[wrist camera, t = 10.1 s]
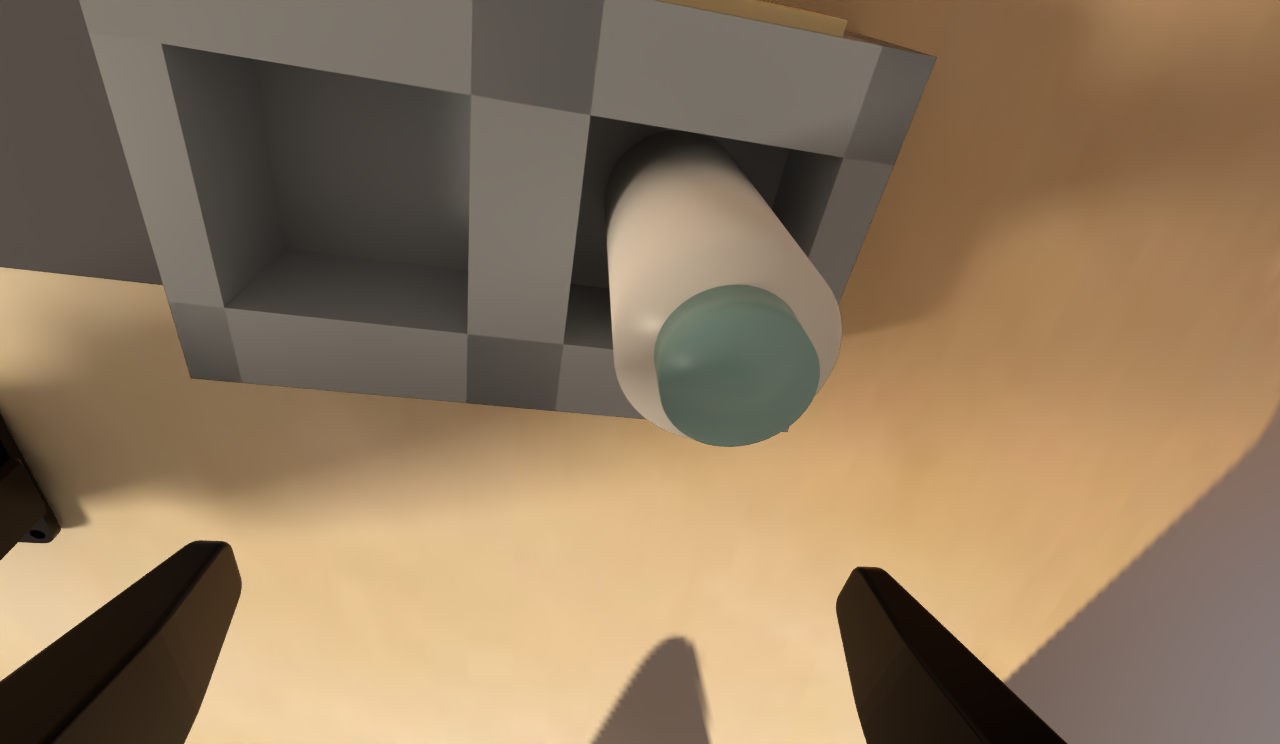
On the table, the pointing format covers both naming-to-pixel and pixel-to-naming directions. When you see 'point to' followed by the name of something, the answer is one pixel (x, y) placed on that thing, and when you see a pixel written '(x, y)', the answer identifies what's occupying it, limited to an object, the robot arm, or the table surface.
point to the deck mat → (63, 153)
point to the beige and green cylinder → (711, 297)
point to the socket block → (465, 172)
